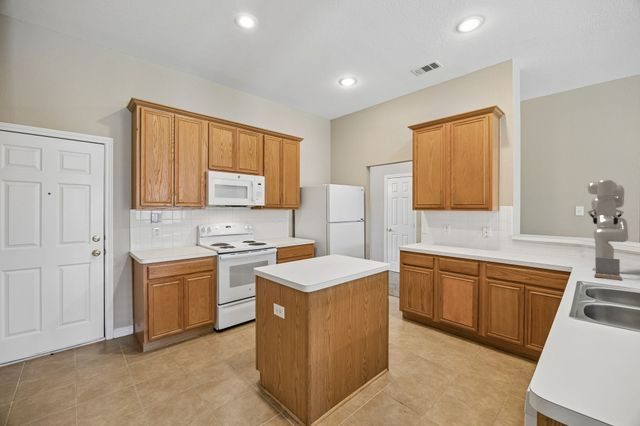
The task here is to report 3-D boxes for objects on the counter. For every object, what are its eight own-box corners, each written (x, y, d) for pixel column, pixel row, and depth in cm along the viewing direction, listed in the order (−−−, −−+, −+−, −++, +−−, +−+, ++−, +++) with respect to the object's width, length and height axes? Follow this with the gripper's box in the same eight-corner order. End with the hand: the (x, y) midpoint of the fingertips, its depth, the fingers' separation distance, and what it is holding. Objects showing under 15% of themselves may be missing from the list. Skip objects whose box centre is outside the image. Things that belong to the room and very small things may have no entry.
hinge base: (594, 276, 190) (594, 273, 190) (620, 278, 182) (620, 276, 182) (594, 278, 181) (594, 276, 181) (621, 282, 172) (621, 279, 172)
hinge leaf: (595, 257, 190) (595, 257, 189) (619, 259, 182) (619, 259, 181) (595, 276, 190) (595, 276, 188) (619, 278, 182) (619, 279, 181)
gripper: (620, 199, 188) (620, 224, 188) (586, 199, 197) (586, 223, 196) (625, 198, 182) (626, 224, 181) (589, 198, 190) (589, 223, 189)
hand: (605, 224), depth 189 cm, fingers open, 9 cm apart
